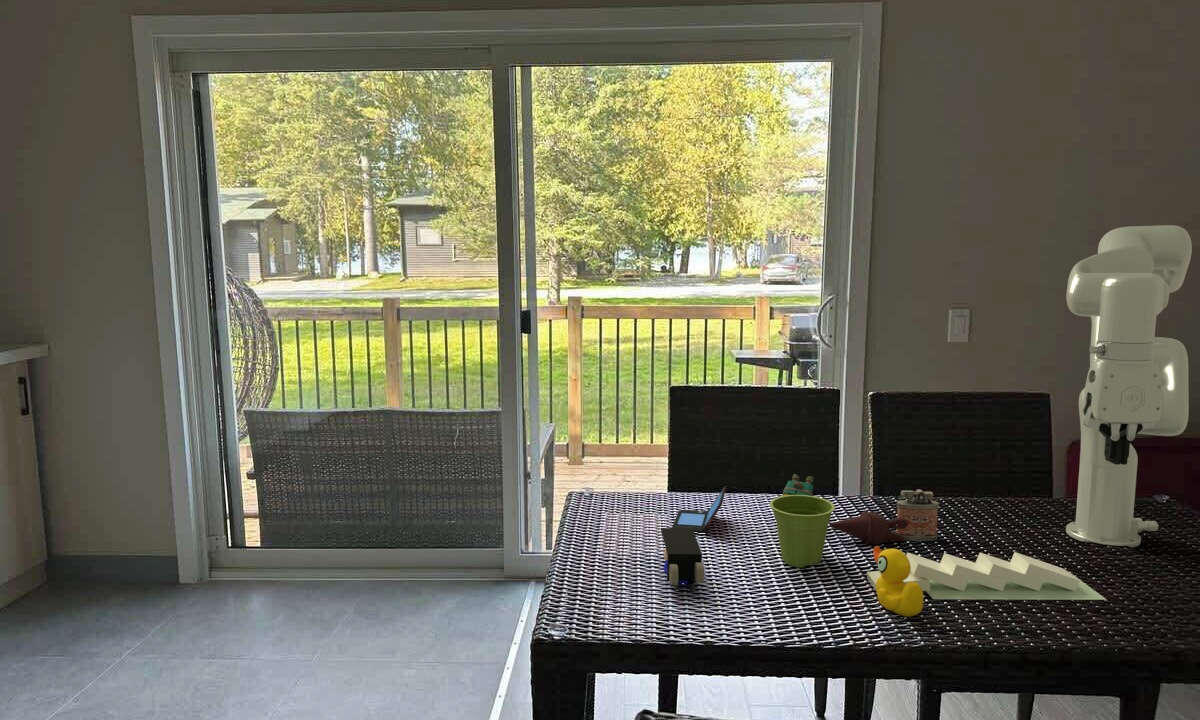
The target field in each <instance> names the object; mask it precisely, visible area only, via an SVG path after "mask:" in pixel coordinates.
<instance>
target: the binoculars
mask: <svg viewBox="0 0 1200 720" xmlns="http://www.w3.org/2000/svg"><path fill="white" fill-rule="evenodd" d="M813 482H814V476H813V475H811V476H810V475H809V476H807V477H806V479H805V482H803V481H800V475H797V474H795V473H793V475H792V478H791V480H788V481H787V483H786V485H785V487H784V489H783V492H782V494H781V496H786V495H808V496H813V490H814V485H813Z"/></svg>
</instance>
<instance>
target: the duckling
mask: <svg viewBox="0 0 1200 720" xmlns="http://www.w3.org/2000/svg"><path fill="white" fill-rule="evenodd" d="M906 555H907V554H906V553H904V552H903V551H902V550H900V549H897V548H887V549H884V550H882V549H881V547H880V546H878V545H876V546H874V547H873V559H874V562H875V564H877V568H878V571H879V572H880V574H881V576H880V577H879V578H878V579H877V581H876V590H875V591H876V594H877V600H878V603H880V605H881V606H882V607H883V608H885V609H886V610H887V611H888V610H889V611H892V612H893V613H894V614H897V615H899V616H902V617H906V618H907V617H908V618H909V617H914V616H917V615H919V613H921V611H922V610H923V608H924V591H922V589H921V587H920V586H919V585H918V584H917V583H916V582H909V583H907V584H906V585H905V583H904V581H903V580H905V579H906V578H908V576H909V574H910V571H911V566H910V562H909V560H908V558H907V556H906Z"/></svg>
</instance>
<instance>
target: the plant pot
mask: <svg viewBox="0 0 1200 720" xmlns="http://www.w3.org/2000/svg"><path fill="white" fill-rule="evenodd" d="M769 507H770V508H771V510H772V512H773V516H774V517H773V518H774V520H775V522H776V528H777V536H778V541H779V547H780V554H781V559H782V560H783V562H784V563H785V564H787V565H789V566H791V567H795V568H800V569H801V568H805V567H806V566H812V565H817V564H819V563H821V562H822V559H823V555H824V554H823V553H824V548H825V542H826V538H827V532H828V527H829V524H830V521H831V516H832V513H833V512H834V511H835V509H836V508H835V507H836V506H835V505H834V503H832V501H829V500H828V499H825V498H822V497H818V496H814V495H812V496H808V495H786V496H782V495H780V496H778V497H775V498H773V499H772V500H770V502H769Z"/></svg>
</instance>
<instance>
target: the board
mask: <svg viewBox="0 0 1200 720" xmlns="http://www.w3.org/2000/svg"><path fill="white" fill-rule="evenodd" d="M1068 572H1069V571H1068ZM1069 573H1070V574H1071V575H1073V576H1074V577H1075V578H1077V579H1078V580H1080V582H1079V584H1078V586H1077V589H1076V591H1072V590H1069V589H1067V588H1064V587H1061V586H1058V585H1055V584H1052V583H1049V582H1046V581H1044V582H1043V584H1042V586H1041V589H1040V591H1037V590H1034V589H1031V588H1028V587H1025V586H1022V585H1019V584H1016V583H1013V582H1010V581H1007V582H1006V585H1005V587H1004V589H1003V591H1000V590H997V589H994V588H991V587H988V586H984V585H981V584H978V583H975V582H972V581H968V583H967V585H966V587H965V590H964V591H962V590H959V589H956V588H953V587H950V586H947V585H944V584H941V583H938V582H935V581H932V580H930V591H926V593H927V594H928V595H929V596H930V597H931V599H932V600H1005V601H1006V600H1010V601H1011V600H1016V601H1017V600H1018V601H1019V600H1021V601H1022V600H1023V601H1024V600H1027V601H1028V600H1030V601H1031V600H1036V601H1037V600H1038V601H1039V600H1042V601H1043V600H1044V601H1045V600H1047V601H1048V600H1049V601H1054V600H1055V601H1056V600H1057V601H1059V600H1060V601H1062V600H1063V601H1068V600H1071V601H1072V600H1076V601H1086V600H1087V601H1102V600H1103V601H1107V598H1106V597H1104V596H1103V595H1101V594H1100V593H1098V592H1097V591H1096V590H1095V589H1093V588H1092V587H1090V586H1089V585H1087V584H1086V582H1085V583H1084V582H1083V581H1082V580H1081V579H1079V578H1078V577H1077V576H1075V575H1074V574H1073V573H1072V572H1069Z"/></svg>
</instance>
